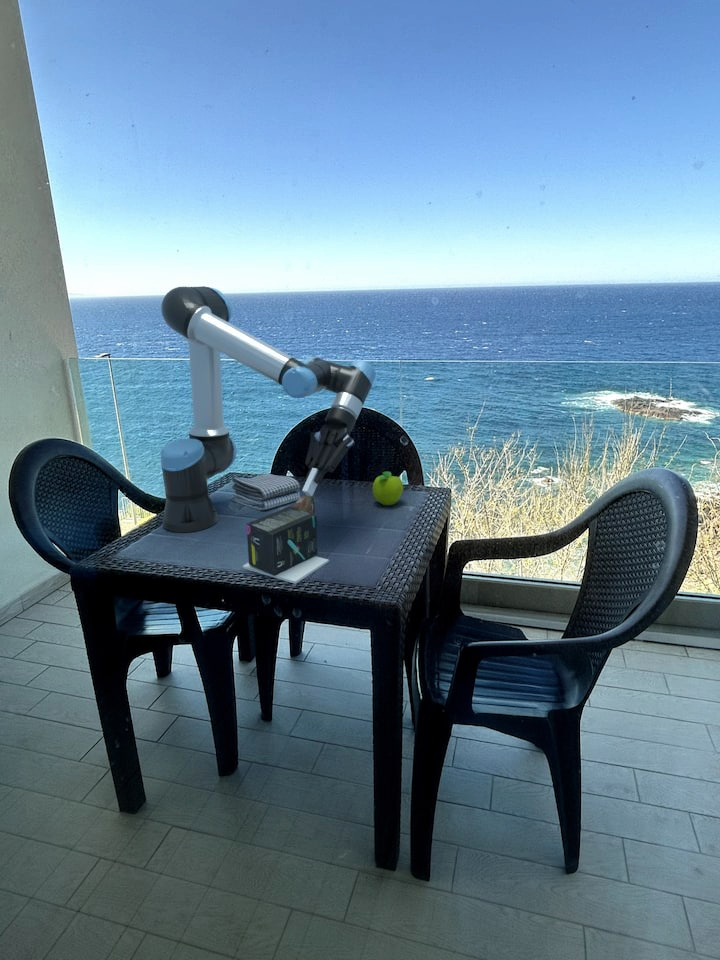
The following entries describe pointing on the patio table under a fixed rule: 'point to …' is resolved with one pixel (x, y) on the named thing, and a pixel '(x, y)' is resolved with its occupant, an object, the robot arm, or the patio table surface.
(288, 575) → the mat
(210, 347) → the robot arm
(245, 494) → the towel
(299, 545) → the tampon box
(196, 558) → the patio table surface
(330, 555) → the patio table surface
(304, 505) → the tin
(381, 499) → the fruit
